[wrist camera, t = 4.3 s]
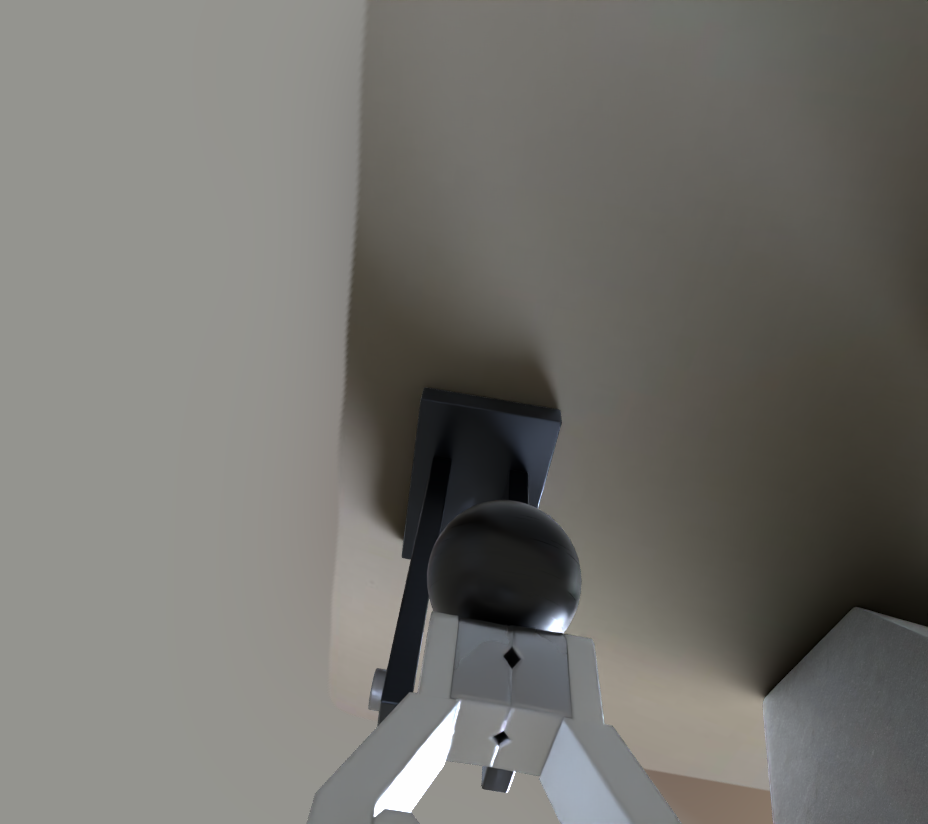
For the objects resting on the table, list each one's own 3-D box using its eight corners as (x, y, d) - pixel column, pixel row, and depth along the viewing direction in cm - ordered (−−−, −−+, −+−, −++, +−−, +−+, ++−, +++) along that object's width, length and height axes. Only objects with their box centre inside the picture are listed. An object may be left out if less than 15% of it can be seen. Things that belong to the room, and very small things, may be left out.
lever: (445, 460, 12) (417, 615, 10) (600, 485, 12) (602, 645, 10) (416, 659, 24) (400, 749, 22) (494, 672, 24) (486, 763, 22)
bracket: (424, 386, 30) (353, 630, 18) (560, 409, 30) (588, 668, 18) (404, 544, 36) (341, 812, 23) (519, 562, 36) (517, 840, 23)
